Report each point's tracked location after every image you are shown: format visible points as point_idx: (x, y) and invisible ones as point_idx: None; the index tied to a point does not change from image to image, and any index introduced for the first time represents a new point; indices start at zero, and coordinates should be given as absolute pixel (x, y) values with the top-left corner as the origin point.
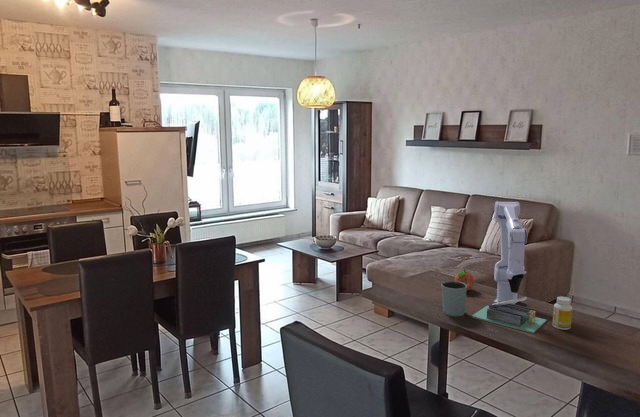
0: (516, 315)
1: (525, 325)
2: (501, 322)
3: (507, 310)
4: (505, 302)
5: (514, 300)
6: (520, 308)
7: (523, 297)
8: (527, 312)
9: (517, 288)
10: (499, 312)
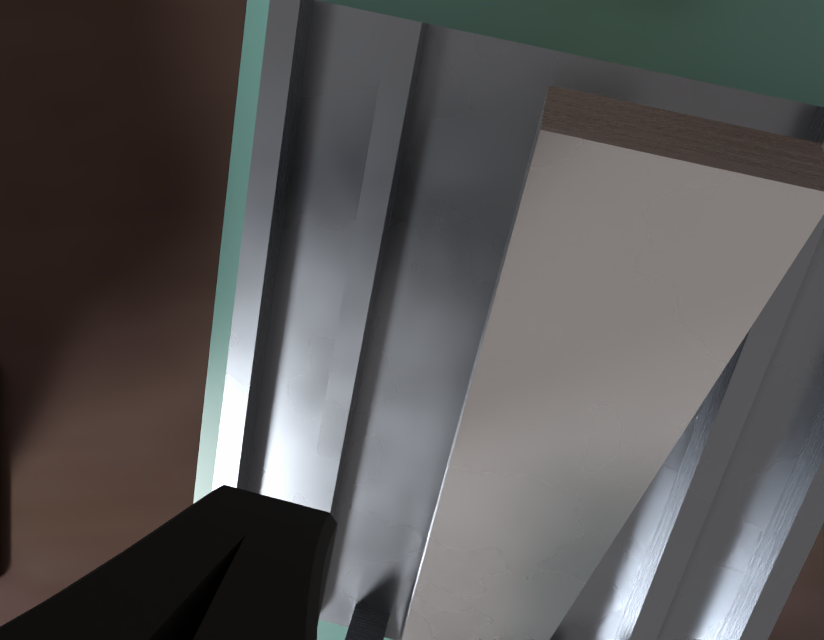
0: (802, 249)
1: (797, 35)
2: None
3: None
4: (577, 584)
5: (669, 453)
6: (383, 220)
7: (607, 231)
8: (464, 51)
9: (301, 627)
10: (798, 564)
